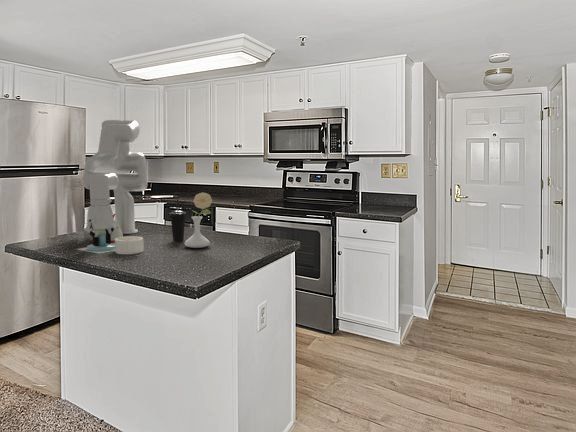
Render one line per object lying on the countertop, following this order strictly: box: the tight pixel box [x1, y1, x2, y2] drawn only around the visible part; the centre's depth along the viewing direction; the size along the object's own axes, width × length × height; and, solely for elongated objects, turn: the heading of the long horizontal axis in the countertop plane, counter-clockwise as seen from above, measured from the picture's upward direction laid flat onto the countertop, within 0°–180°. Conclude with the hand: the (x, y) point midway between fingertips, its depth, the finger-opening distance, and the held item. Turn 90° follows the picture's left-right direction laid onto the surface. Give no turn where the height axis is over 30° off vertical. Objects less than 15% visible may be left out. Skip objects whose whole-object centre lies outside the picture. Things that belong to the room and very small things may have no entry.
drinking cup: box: [169, 199, 187, 242], centre depth 205 cm, size 8×8×20 cm
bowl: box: [114, 235, 145, 256], centre depth 178 cm, size 11×11×6 cm
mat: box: [76, 246, 115, 255], centre depth 183 cm, size 15×14×1 cm
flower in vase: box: [184, 191, 213, 249], centre depth 190 cm, size 13×11×25 cm
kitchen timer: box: [97, 213, 124, 244], centre depth 201 cm, size 14×14×15 cm
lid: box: [86, 234, 115, 251], centre depth 183 cm, size 12×12×6 cm
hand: (101, 244), depth 183 cm, fingers open, 5 cm apart
